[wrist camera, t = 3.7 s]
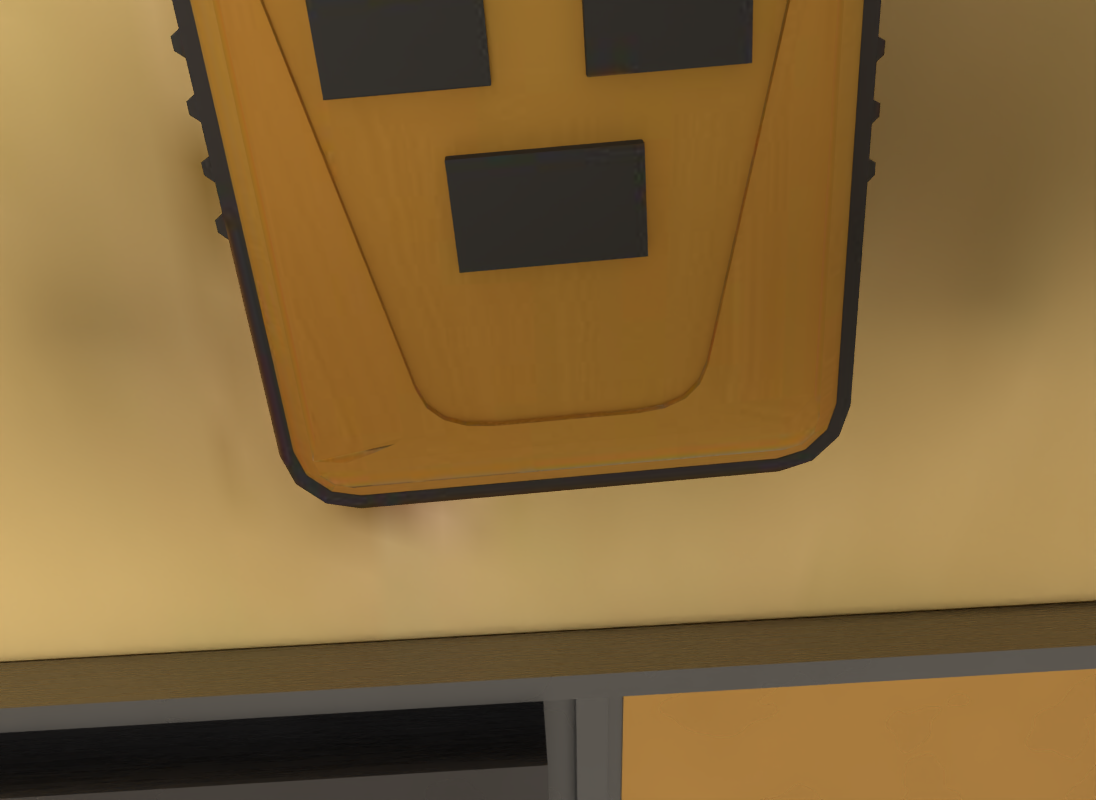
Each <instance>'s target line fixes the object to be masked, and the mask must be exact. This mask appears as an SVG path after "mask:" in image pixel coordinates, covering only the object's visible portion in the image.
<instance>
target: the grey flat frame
mask: <svg viewBox="0 0 1096 800" xmlns="http://www.w3.org/2000/svg"><path fill="white" fill-rule="evenodd" d="M0 800H1096V602H1087V603H1069V604H1052V605H1034V606H1016V607H998V608H980V609H962V610H944V611H926V612H908V613H890V614H872V615H854V616H836V617H818V618H800V619H782V620H765V621H747V622H729V623H711V624H693V625H675V626H657V627H639V628H621V629H603V630H585V631H567V632H549V633H531V634H513V635H495V636H478V637H460V638H442V639H424V640H406V641H388V642H370V643H352V644H334V645H316V646H298V647H280V648H262V649H244V650H226V651H209V652H191V653H173V654H155V655H137V656H119V657H101V658H83V659H65V660H47V661H29V662H11V663H0Z"/></svg>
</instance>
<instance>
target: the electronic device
mask: <svg viewBox="0 0 1096 800" xmlns="http://www.w3.org/2000/svg"><path fill="white" fill-rule="evenodd" d="M172 2H173V6H174V10H175V14H176V19H177V23H178V27H179V29H178V30H177V31H176V32H175V33H174V34H173V35H172V36H171V40H172V44H173V48H174V51H175V52H177V53H178V54H180V55H182V56H183V57H185V58H186V61H187V65H188V69H189V74H190V78H191V82H192V86H193V90H194V95H193V96H192V97H191V98H190V99H189V100H187V101H186V102H187V106H188V110H189V114H190V115H191V116H192V117H194V118H195V119H197V120H198V121H200V122H201V124H202V128H203V133H204V137H205V141H206V145H207V150H208V154H209V157H208V158H206V159H205V160H204V161H203V162H201V164H202V168H203V172H204V175H205V176H206V177H208V178H209V179H211V180H212V181H214V182H215V183H216V188H217V192H218V196H219V200H220V204H221V209H222V214H221V215H220V216H219V217H218V218H217V219H216V220H215V222H216V226H217V230H218V233H220V234H221V235H223V236H224V237H225V238H227V239H228V240H229V243H230V247H231V251H232V255H233V259H234V264H235V268H236V272H237V276H238V281H239V285H240V289H241V293H242V297H243V302H244V306H245V310H246V314H247V319H248V323H249V327H250V331H251V335H252V340H253V344H254V348H255V352H256V357H257V361H258V365H259V369H260V373H261V378H262V382H263V386H264V390H265V395H266V399H267V403H268V407H269V411H270V416H271V420H272V424H273V428H274V433H275V437H276V441H277V445H278V450H279V454H280V457H281V458H282V460H283V462H284V464H285V465H286V467H287V469H288V471H289V472H290V474H291V476H292V478H293V479H294V481H295V483H296V484H297V485H299V486H300V487H302V488H303V489H305V490H306V491H308V492H310V493H311V494H313V495H314V496H316V497H317V498H319V499H320V500H322V501H324V502H325V503H328V504H335V505H342V506H349V507H356V508H368V507H380V506H391V505H402V504H414V503H425V502H437V501H448V500H459V499H471V498H482V497H493V496H505V495H516V494H528V493H539V492H550V491H562V490H573V489H584V488H596V487H607V486H618V485H629V484H641V483H652V482H663V481H674V480H686V479H697V478H708V477H719V476H731V475H742V474H753V473H764V472H776V471H781V470H784V469H787V468H790V467H793V466H797V465H800V464H803V463H806V462H809V461H812V460H813V459H814V458H815V457H816V456H817V455H819V454H820V453H821V452H822V451H823V450H824V449H825V448H826V447H827V446H828V445H830V444H831V443H832V442H833V441H834V440H835V439H836V438H837V437H838V436H839V434H840V432H841V429H842V426H843V424H844V421H845V418H846V416H847V413H848V410H849V408H850V404H851V391H852V377H853V364H854V351H855V338H856V325H857V311H858V298H859V285H860V272H861V259H862V245H863V232H864V219H865V206H866V193H867V182H868V181H869V180H870V179H871V178H872V177H873V176H874V175H875V162H873V161H872V160H870V159H869V153H870V140H871V127H872V123H873V122H874V121H875V120H876V119H877V118H878V117H879V113H880V103H878V102H877V101H875V100H874V87H875V74H876V62H877V61H878V60H879V59H880V58H881V57H882V56H883V55H884V49H885V40H883V39H882V38H880V37H879V36H878V34H879V21H880V8H881V0H172Z"/></svg>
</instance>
